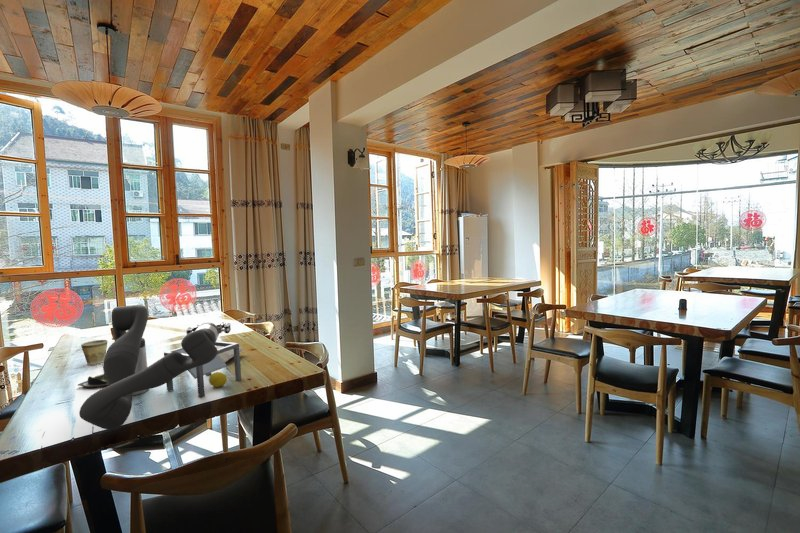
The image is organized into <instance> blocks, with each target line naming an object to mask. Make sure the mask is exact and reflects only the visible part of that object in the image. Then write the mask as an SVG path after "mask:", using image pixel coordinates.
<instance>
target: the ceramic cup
mask: <svg viewBox="0 0 800 533" xmlns="http://www.w3.org/2000/svg"><path fill="white" fill-rule="evenodd" d="M80 345H81V350H82V352H83V356H84V358H85V362H86V364H87V365H91V366H93V364H94V365H98V364H102V363H104V359H105V356H106V352H107V350H108V340H106V339H97V340H91V341H87V342H84V343H81V344H80Z"/></svg>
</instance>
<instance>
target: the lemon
mask: <svg viewBox="0 0 800 533" xmlns="http://www.w3.org/2000/svg"><path fill="white" fill-rule="evenodd" d="M208 382H209V384H210V386H212V387H214V388H221V387H223V386H225V385H226V384H227V382H228V377H227V374H225V373H223V372H221V371H215V372H212V373H211V375H210V376H209V379H208Z"/></svg>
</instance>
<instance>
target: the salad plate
mask: <svg viewBox="0 0 800 533" xmlns="http://www.w3.org/2000/svg"><path fill="white" fill-rule="evenodd" d="M77 386H78V387H79V386H80V387H83V388H85V389H88V390H90V389H91V390H93V389H94V390H95V389H103V388H105V387H107V386H109V385H108V382H107V380H106V377H105V374H104V373H102V374H99V375H95V376H91V375H90V376H88V378H87V380H86V381H83V382H80V383H78V384H77Z"/></svg>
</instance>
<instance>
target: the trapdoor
mask: <svg viewBox="0 0 800 533" xmlns="http://www.w3.org/2000/svg"><path fill="white" fill-rule="evenodd" d="M176 352H179V353H184V354H187V353H186V352H185V350H184V349H180V350H176ZM226 367H227V364H226V362H225V363H224V362H223V361H222V359H221V358H220V357H219V356H218V355H216V357H215V358H214V359H213V360H212V361H210V362H209V363H207V364H204V365H203V377H204V376H206V374H209V373H211V374H212V373H215V372H218V371H219V370H221V369H224V368H226ZM187 371H188V373H189V374H190V375H191V376H192V377H193V378H194V380H197V372H196V367H195V368H192V369H189V370H187Z"/></svg>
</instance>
